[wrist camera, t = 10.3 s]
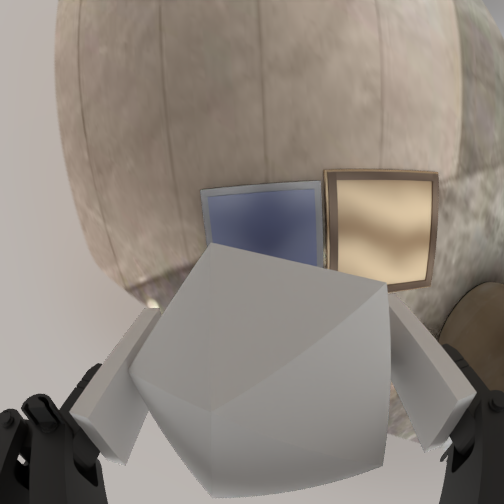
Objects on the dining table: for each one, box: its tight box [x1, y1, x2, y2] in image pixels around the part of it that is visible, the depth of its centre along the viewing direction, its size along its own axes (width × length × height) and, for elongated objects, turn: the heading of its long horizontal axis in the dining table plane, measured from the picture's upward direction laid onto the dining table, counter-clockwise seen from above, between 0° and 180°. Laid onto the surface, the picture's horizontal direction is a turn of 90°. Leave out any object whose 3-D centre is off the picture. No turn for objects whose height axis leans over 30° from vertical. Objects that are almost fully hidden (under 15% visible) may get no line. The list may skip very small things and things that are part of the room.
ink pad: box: [200, 180, 323, 268], centre depth 26 cm, size 11×11×1 cm
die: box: [128, 243, 391, 498], centre depth 9 cm, size 8×9×10 cm
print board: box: [323, 169, 439, 293], centre depth 25 cm, size 13×13×1 cm
